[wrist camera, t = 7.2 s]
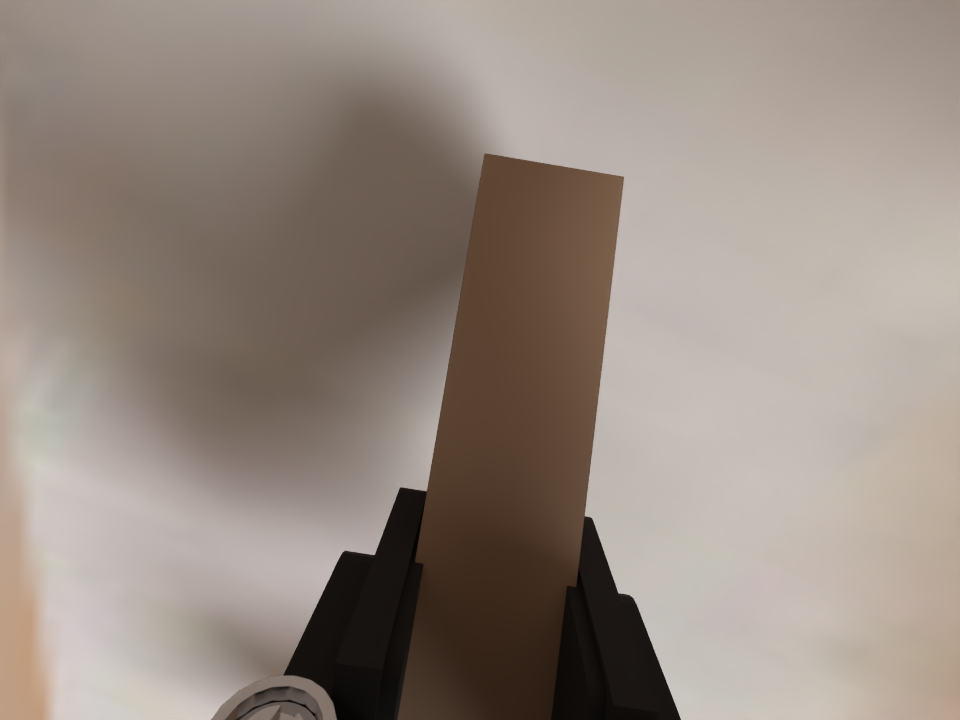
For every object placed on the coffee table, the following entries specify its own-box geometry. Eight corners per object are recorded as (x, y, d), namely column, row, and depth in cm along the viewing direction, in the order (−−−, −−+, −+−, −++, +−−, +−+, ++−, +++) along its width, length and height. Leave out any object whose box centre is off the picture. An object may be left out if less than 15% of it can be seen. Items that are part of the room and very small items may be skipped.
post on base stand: (660, 276, 12) (796, 166, 7) (601, 868, 10) (738, 1285, 5) (385, 231, 12) (334, 87, 7) (267, 818, 10) (77, 1192, 5)
